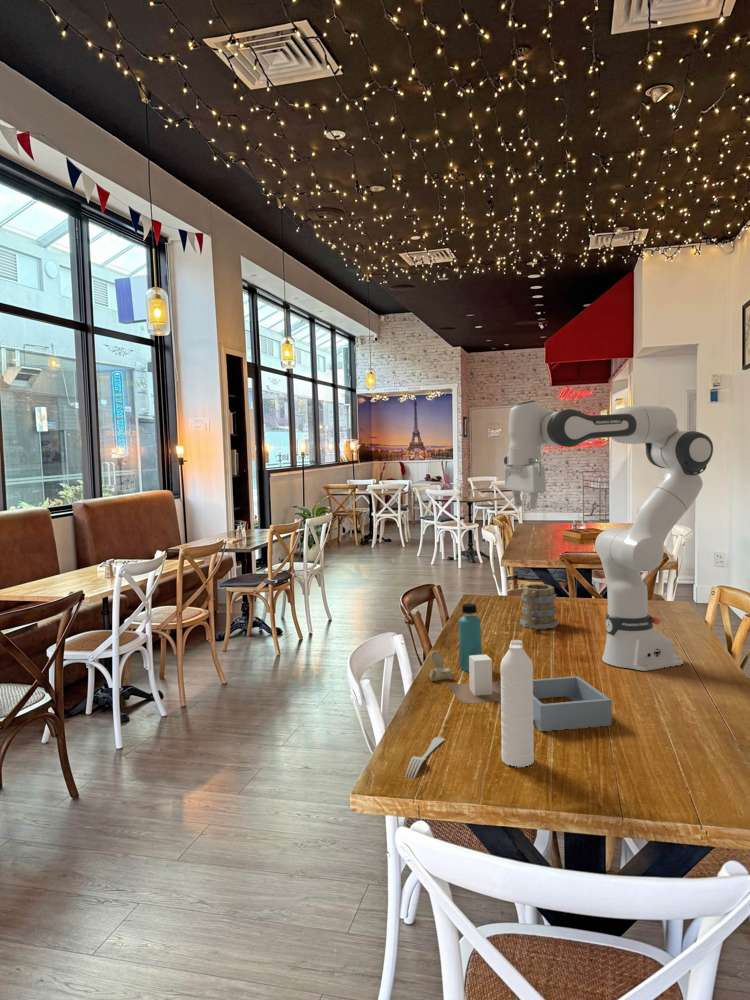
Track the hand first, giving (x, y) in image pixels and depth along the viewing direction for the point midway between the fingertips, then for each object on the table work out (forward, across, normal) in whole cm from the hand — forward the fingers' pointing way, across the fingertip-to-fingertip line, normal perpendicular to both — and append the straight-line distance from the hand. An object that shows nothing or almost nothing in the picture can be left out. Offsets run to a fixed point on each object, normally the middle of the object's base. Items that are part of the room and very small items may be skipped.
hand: (524, 507), depth 193 cm
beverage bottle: (+47, +1, +16) cm, 50 cm away
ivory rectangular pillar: (+46, -18, +20) cm, 53 cm away
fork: (+48, -47, +43) cm, 79 cm away
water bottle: (+47, -54, +26) cm, 76 cm away
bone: (+47, -4, +26) cm, 54 cm away
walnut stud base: (+47, -18, +20) cm, 54 cm away
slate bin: (+47, -33, +6) cm, 58 cm away
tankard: (+47, +44, -23) cm, 68 cm away
